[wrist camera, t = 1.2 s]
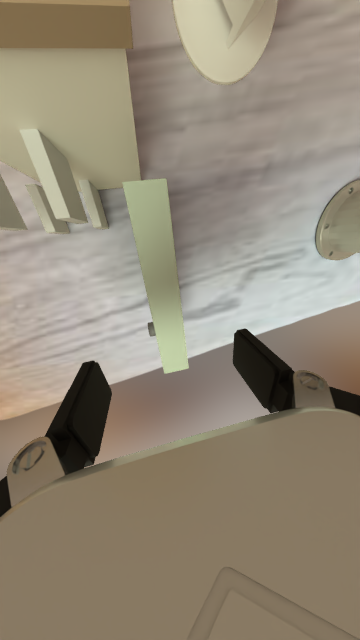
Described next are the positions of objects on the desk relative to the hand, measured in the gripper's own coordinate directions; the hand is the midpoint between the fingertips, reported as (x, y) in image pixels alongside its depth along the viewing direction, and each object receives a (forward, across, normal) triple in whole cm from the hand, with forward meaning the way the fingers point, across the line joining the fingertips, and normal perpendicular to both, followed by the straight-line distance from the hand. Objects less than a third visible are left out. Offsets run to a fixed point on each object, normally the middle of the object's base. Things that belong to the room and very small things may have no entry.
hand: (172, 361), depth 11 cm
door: (+20, -1, -2) cm, 20 cm away
